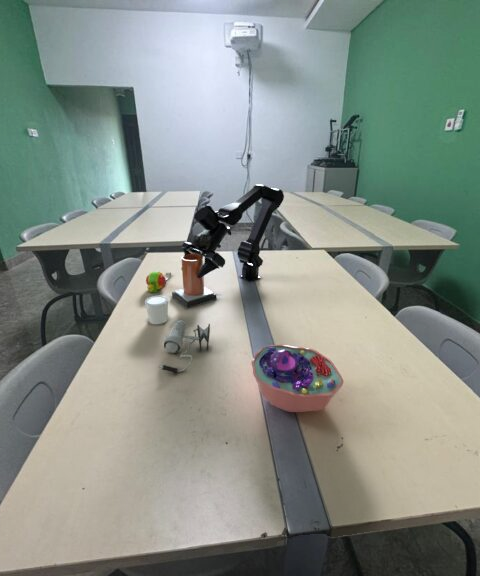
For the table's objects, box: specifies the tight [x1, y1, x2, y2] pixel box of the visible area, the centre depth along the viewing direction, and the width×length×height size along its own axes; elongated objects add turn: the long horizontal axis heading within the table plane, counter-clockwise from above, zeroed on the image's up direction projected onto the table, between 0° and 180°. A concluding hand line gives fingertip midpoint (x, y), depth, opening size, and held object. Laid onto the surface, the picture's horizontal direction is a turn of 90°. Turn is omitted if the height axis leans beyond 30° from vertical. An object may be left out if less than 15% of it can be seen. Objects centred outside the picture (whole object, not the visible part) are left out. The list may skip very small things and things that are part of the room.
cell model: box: [251, 344, 344, 413], centre depth 69 cm, size 17×20×11 cm
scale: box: [171, 286, 217, 309], centre depth 115 cm, size 12×11×2 cm
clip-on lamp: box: [158, 320, 211, 374], centre depth 83 cm, size 12×6×18 cm
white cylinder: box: [144, 295, 169, 325], centre depth 99 cm, size 7×7×7 cm
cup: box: [180, 254, 205, 296], centre depth 112 cm, size 7×7×13 cm
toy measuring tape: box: [145, 270, 172, 293], centre depth 124 cm, size 6×20×7 cm, turn 173°
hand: (189, 274), depth 110 cm, fingers open, 9 cm apart
